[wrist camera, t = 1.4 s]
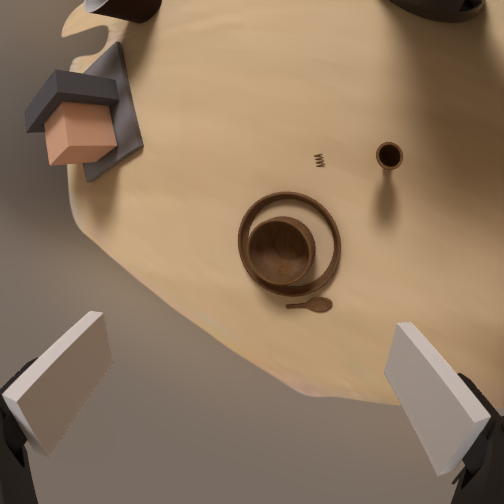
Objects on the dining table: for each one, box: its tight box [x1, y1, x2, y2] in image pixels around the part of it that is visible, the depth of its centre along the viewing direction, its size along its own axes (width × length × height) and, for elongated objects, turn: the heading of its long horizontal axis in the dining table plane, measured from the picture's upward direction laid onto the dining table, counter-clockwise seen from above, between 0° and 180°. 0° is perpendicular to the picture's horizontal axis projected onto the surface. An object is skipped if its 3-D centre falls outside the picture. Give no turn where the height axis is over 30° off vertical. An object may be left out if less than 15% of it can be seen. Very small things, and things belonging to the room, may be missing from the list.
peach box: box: [44, 101, 117, 165], centre depth 36 cm, size 10×6×9 cm, turn 19°
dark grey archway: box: [25, 70, 119, 133], centre depth 34 cm, size 4×11×12 cm, turn 109°
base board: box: [83, 42, 144, 182], centre depth 40 cm, size 20×14×1 cm
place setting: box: [238, 142, 403, 312], centre depth 30 cm, size 18×20×6 cm
